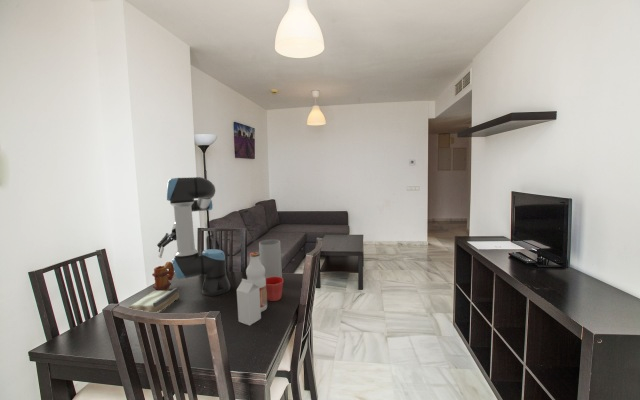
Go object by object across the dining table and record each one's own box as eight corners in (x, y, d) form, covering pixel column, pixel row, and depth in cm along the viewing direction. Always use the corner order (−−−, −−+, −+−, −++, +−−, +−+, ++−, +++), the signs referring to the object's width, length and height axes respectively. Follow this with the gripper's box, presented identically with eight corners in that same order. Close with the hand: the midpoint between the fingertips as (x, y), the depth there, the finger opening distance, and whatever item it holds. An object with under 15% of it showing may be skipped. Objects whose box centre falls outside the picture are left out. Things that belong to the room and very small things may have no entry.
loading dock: (178, 298, 157) (177, 287, 156) (156, 315, 139) (155, 303, 139) (154, 297, 159) (153, 287, 158) (129, 314, 141) (128, 302, 140)
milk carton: (249, 326, 127) (247, 284, 125) (238, 321, 131) (235, 281, 129) (261, 318, 133) (259, 278, 131) (250, 314, 137) (247, 276, 135)
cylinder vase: (256, 285, 171) (254, 244, 169) (268, 277, 183) (266, 238, 180) (275, 288, 167) (273, 245, 164) (285, 280, 178) (284, 240, 175)
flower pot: (288, 295, 157) (287, 277, 156) (276, 304, 147) (276, 285, 146) (271, 292, 161) (270, 275, 160) (259, 300, 151) (258, 282, 150)
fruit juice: (270, 308, 142) (268, 253, 139) (253, 315, 136) (249, 257, 133) (261, 302, 149) (258, 249, 146) (244, 308, 144) (241, 253, 140)
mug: (162, 295, 162) (160, 269, 160) (150, 294, 163) (147, 268, 162) (180, 284, 176) (178, 260, 174) (168, 283, 178) (166, 260, 176)
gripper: (200, 229, 195) (194, 258, 182) (162, 231, 194) (152, 260, 180) (197, 223, 189) (190, 252, 176) (157, 224, 188) (147, 254, 175)
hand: (171, 256), depth 178 cm, fingers open, 13 cm apart
